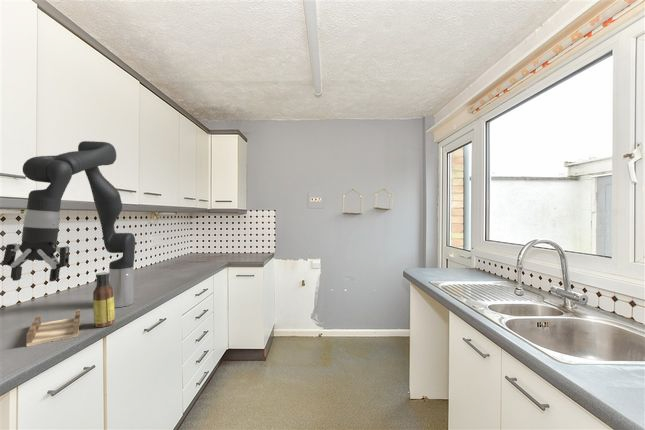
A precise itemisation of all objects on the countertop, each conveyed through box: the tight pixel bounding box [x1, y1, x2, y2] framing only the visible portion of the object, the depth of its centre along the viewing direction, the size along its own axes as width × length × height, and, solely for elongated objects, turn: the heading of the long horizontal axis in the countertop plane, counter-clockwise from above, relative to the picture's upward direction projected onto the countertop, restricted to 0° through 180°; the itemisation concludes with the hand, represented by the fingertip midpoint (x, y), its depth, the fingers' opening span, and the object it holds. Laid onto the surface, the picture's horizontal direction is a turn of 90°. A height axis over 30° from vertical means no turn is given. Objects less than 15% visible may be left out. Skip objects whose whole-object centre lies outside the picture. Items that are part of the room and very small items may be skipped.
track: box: [26, 308, 81, 347], centre depth 102 cm, size 20×12×4 cm, turn 39°
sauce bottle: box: [92, 271, 116, 328], centre depth 108 cm, size 6×6×20 cm
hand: (34, 280), depth 84 cm, fingers open, 8 cm apart
